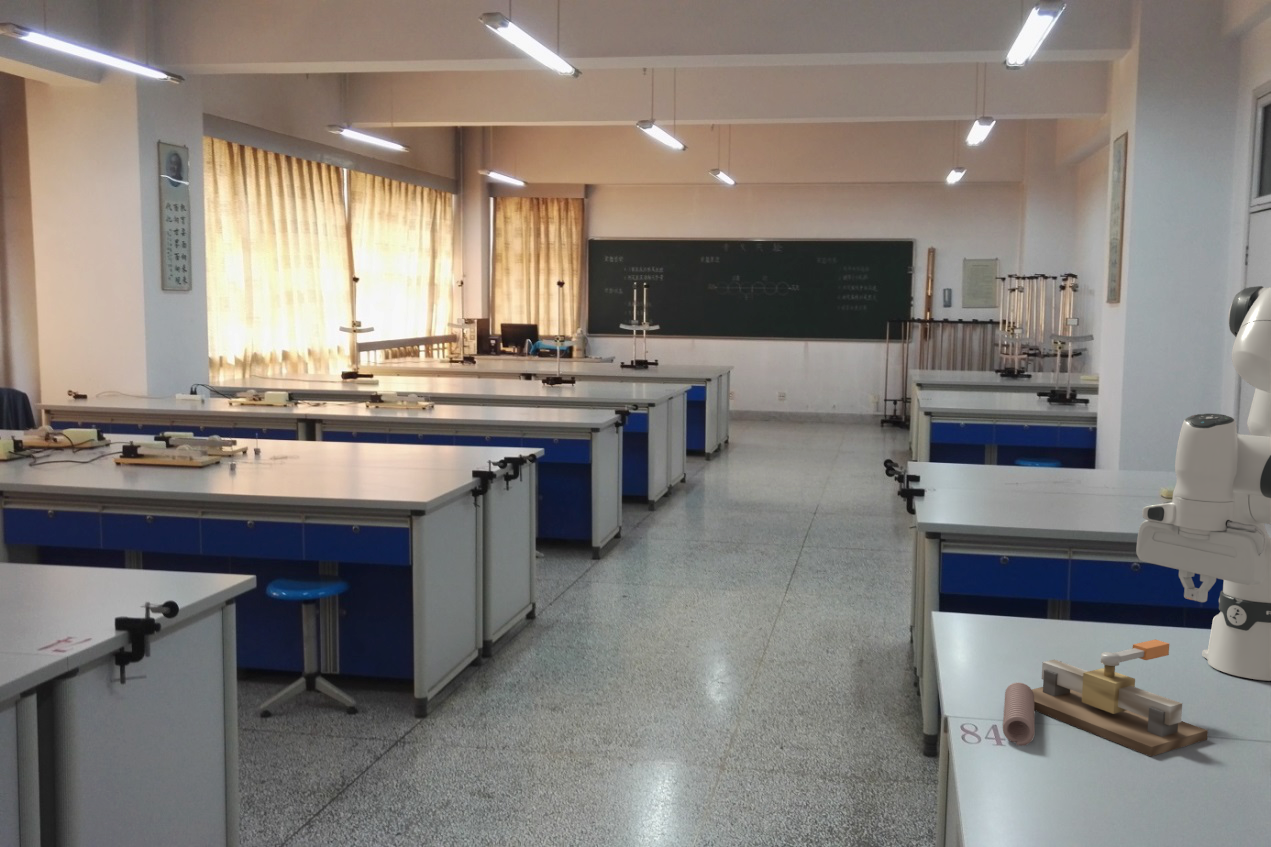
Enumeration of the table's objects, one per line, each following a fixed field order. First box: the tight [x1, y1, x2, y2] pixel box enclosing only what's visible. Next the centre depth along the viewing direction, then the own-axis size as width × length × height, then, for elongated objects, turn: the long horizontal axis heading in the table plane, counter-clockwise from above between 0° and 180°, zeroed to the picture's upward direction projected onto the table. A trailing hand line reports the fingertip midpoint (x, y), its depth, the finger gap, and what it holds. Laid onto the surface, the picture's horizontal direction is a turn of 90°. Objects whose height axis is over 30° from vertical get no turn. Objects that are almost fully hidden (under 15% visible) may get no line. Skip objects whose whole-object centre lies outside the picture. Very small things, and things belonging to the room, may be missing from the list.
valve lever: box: [1100, 639, 1170, 667], centre depth 183 cm, size 15×3×2 cm, turn 120°
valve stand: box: [1031, 659, 1209, 757], centre depth 181 cm, size 14×26×9 cm, turn 30°
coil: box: [1002, 682, 1036, 747], centre depth 179 cm, size 5×5×18 cm
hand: (1195, 600), depth 179 cm, fingers closed
